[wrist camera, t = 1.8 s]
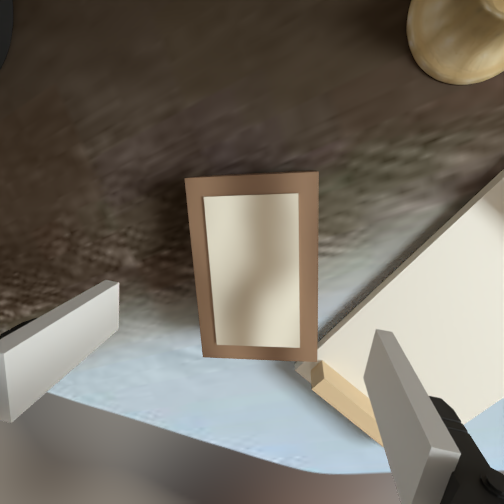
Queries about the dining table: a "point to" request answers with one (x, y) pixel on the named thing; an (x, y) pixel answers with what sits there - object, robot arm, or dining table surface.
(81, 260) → the dining table surface
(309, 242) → the frame
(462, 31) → the hand bell
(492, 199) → the wall panel
